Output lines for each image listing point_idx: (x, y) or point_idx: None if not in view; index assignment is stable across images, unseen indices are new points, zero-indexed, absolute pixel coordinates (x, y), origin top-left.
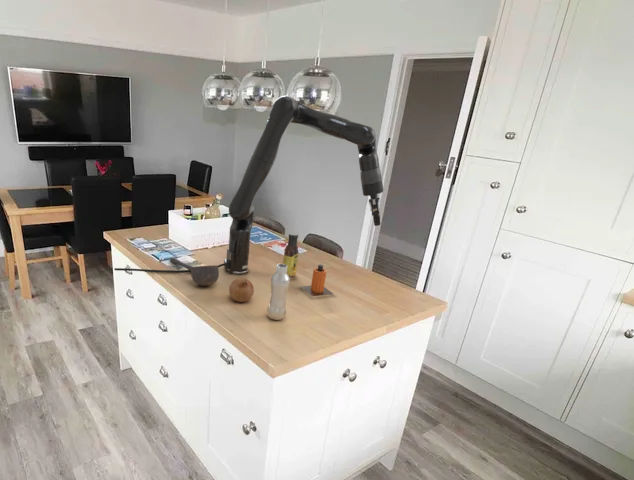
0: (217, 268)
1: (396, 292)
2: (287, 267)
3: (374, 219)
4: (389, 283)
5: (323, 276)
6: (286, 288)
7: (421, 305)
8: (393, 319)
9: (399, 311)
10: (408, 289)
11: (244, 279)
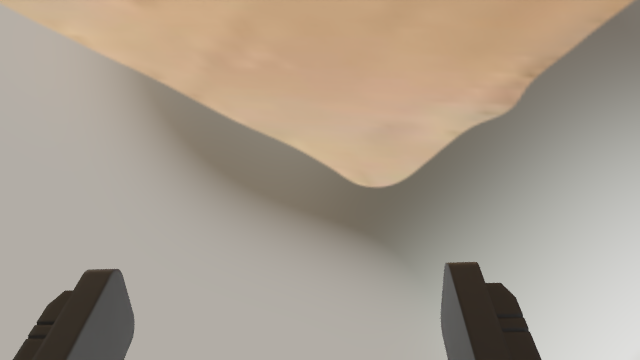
0: None
1: (440, 40)
2: None
3: (50, 350)
4: (579, 6)
5: None
6: None
7: (320, 129)
8: (77, 26)
9: (190, 50)
10: (506, 92)
11: None
